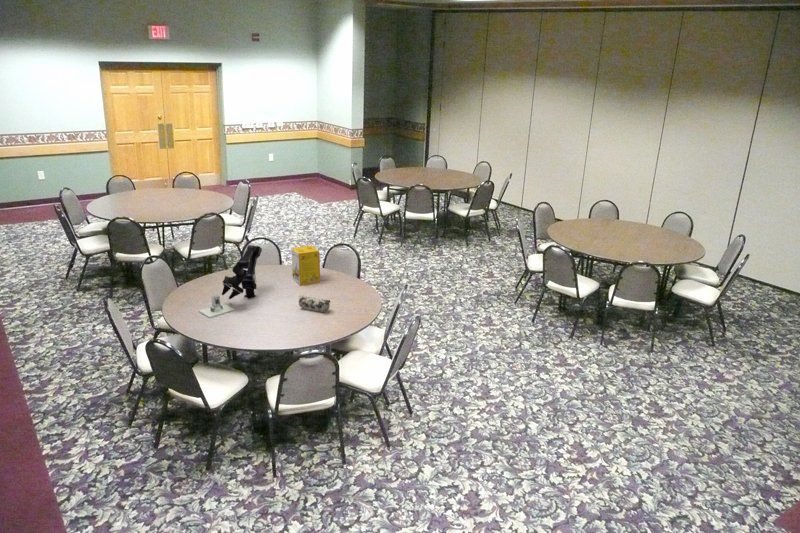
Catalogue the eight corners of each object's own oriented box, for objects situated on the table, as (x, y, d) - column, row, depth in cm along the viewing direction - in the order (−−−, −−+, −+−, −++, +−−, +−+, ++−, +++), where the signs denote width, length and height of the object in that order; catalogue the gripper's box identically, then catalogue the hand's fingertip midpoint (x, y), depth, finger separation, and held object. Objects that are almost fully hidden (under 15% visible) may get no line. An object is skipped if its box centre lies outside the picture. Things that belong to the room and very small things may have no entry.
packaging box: (292, 279, 446) (291, 247, 438) (312, 275, 453) (311, 245, 445) (299, 285, 432) (298, 253, 424) (320, 282, 440) (319, 251, 431)
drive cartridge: (220, 310, 385) (219, 296, 382) (215, 311, 383) (213, 297, 379) (218, 308, 388) (216, 294, 384) (212, 310, 385) (211, 296, 382)
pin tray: (234, 310, 387) (234, 305, 386) (209, 318, 375) (209, 313, 374) (223, 304, 396) (223, 300, 395) (199, 312, 384) (198, 307, 383)
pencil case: (331, 310, 391) (331, 297, 387) (325, 315, 383) (324, 301, 380) (303, 304, 399) (303, 291, 396) (296, 309, 391) (296, 295, 388)
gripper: (223, 268, 392) (210, 287, 388) (238, 275, 380) (224, 295, 376) (235, 276, 400) (221, 295, 396) (249, 283, 387) (236, 303, 384)
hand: (225, 296), depth 388 cm, fingers open, 9 cm apart
